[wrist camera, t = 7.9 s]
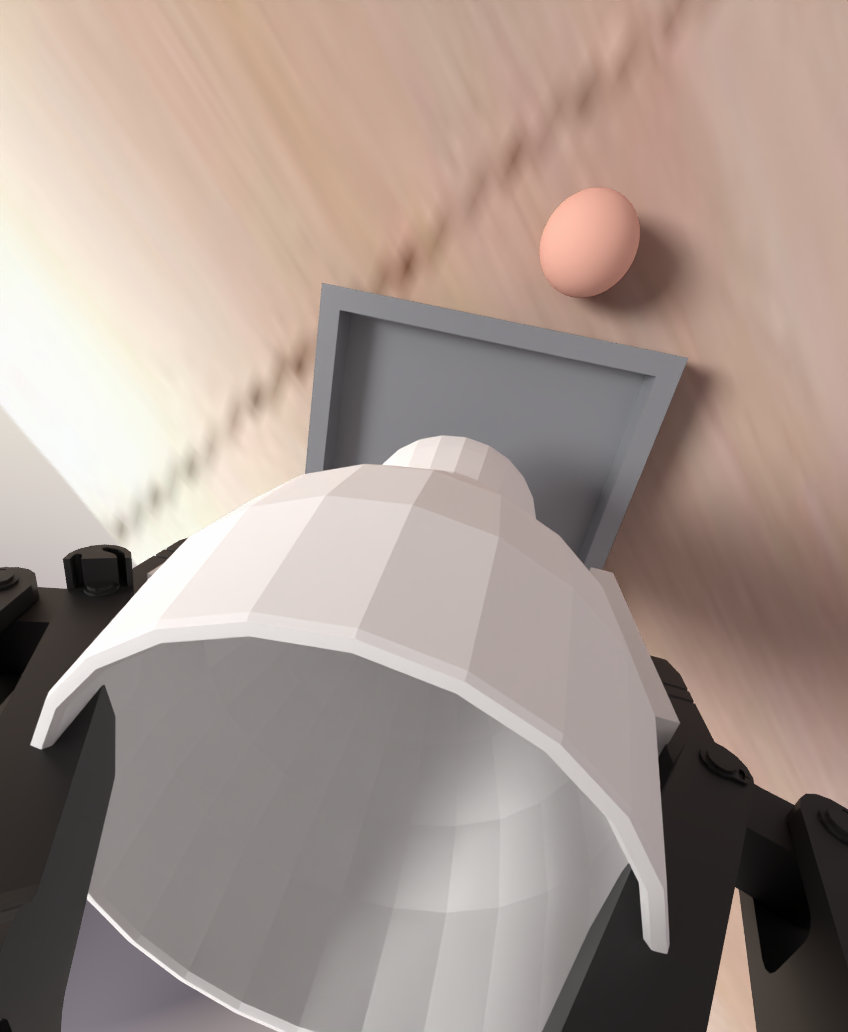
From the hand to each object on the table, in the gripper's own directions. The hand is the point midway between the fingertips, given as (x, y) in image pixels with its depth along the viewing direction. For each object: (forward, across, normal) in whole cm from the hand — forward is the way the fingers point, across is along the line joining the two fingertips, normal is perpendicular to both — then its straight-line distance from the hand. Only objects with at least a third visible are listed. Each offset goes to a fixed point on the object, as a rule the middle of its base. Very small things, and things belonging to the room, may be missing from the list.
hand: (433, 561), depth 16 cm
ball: (+10, +3, +12) cm, 16 cm away
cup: (+5, 0, 0) cm, 5 cm away
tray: (+10, 0, 0) cm, 10 cm away
